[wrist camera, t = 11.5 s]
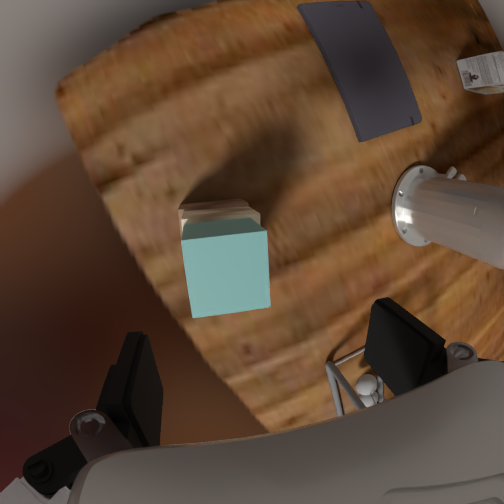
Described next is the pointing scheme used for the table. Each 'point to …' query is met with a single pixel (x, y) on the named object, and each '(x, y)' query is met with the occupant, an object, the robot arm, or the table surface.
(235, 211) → the tower mid
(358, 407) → the newton's cradle
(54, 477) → the robot arm
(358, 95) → the notebook
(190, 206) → the tower base
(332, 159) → the table surface
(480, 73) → the coffee box
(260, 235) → the teal block
